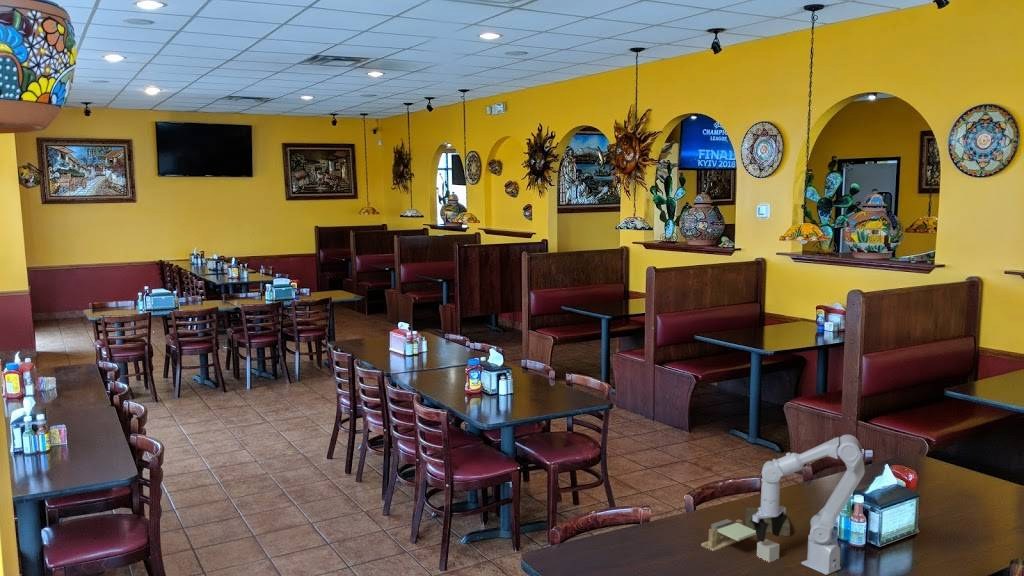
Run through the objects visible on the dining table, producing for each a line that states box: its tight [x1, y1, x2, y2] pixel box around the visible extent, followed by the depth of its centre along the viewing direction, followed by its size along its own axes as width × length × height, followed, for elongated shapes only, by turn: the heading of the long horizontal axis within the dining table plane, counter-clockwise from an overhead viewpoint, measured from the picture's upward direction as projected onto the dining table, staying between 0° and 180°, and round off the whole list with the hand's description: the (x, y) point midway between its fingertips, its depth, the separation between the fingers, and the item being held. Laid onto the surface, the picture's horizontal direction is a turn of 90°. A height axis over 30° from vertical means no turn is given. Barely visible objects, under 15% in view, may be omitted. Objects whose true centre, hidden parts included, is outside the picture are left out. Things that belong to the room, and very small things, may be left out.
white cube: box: [756, 538, 780, 563], centre depth 262 cm, size 5×5×5 cm
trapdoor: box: [710, 518, 757, 542], centre depth 269 cm, size 12×10×1 cm
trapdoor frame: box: [700, 518, 744, 552], centre depth 273 cm, size 5×15×7 cm, turn 124°
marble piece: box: [744, 507, 791, 537], centre depth 288 cm, size 17×15×4 cm
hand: (768, 537), depth 262 cm, fingers open, 7 cm apart
